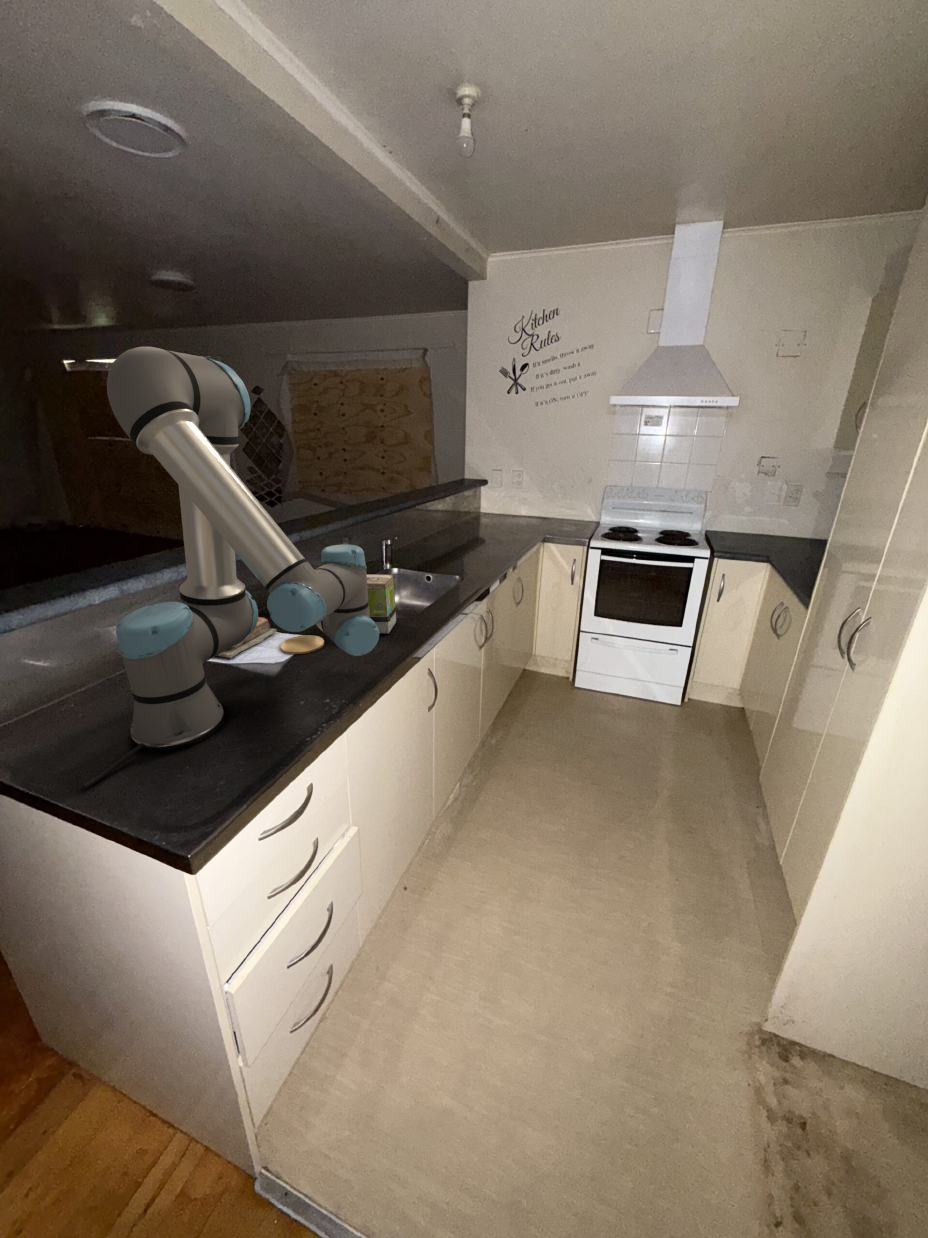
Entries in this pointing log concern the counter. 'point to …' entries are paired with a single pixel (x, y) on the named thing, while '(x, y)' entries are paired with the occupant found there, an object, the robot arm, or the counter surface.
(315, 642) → the birch coaster
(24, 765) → the counter surface
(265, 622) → the packaged product
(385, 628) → the tea box
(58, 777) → the counter surface
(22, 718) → the counter surface
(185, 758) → the counter surface
